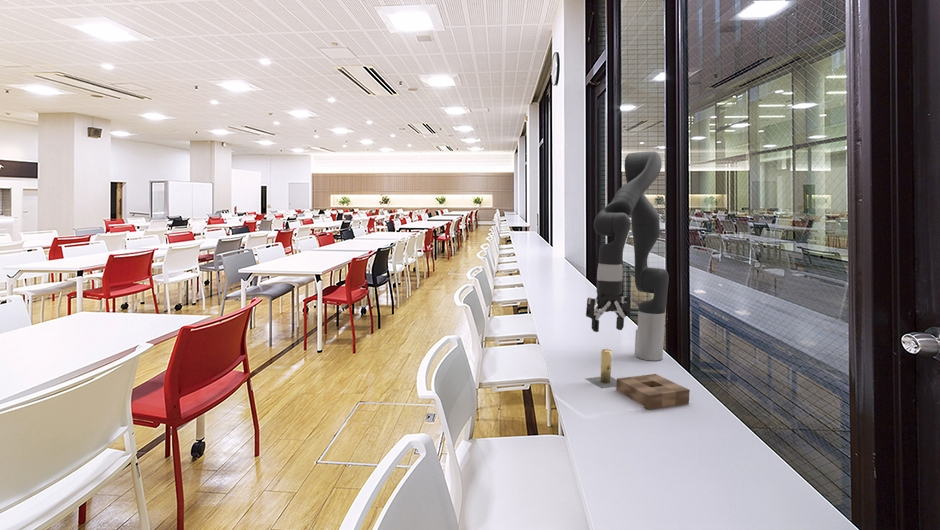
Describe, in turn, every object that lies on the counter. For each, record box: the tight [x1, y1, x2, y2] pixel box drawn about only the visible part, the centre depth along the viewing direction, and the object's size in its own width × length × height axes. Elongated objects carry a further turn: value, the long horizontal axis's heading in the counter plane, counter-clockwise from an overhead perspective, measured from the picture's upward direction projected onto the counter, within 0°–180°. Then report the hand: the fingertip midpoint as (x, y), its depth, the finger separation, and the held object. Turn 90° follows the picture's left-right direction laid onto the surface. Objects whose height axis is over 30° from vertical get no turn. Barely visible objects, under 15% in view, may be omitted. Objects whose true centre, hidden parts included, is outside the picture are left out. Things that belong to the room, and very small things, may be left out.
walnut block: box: [615, 373, 690, 411], centre depth 141 cm, size 14×14×4 cm
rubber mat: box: [584, 376, 617, 389], centre depth 152 cm, size 9×9×1 cm
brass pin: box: [600, 348, 613, 383], centre depth 151 cm, size 3×3×10 cm
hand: (607, 330), depth 150 cm, fingers open, 8 cm apart
